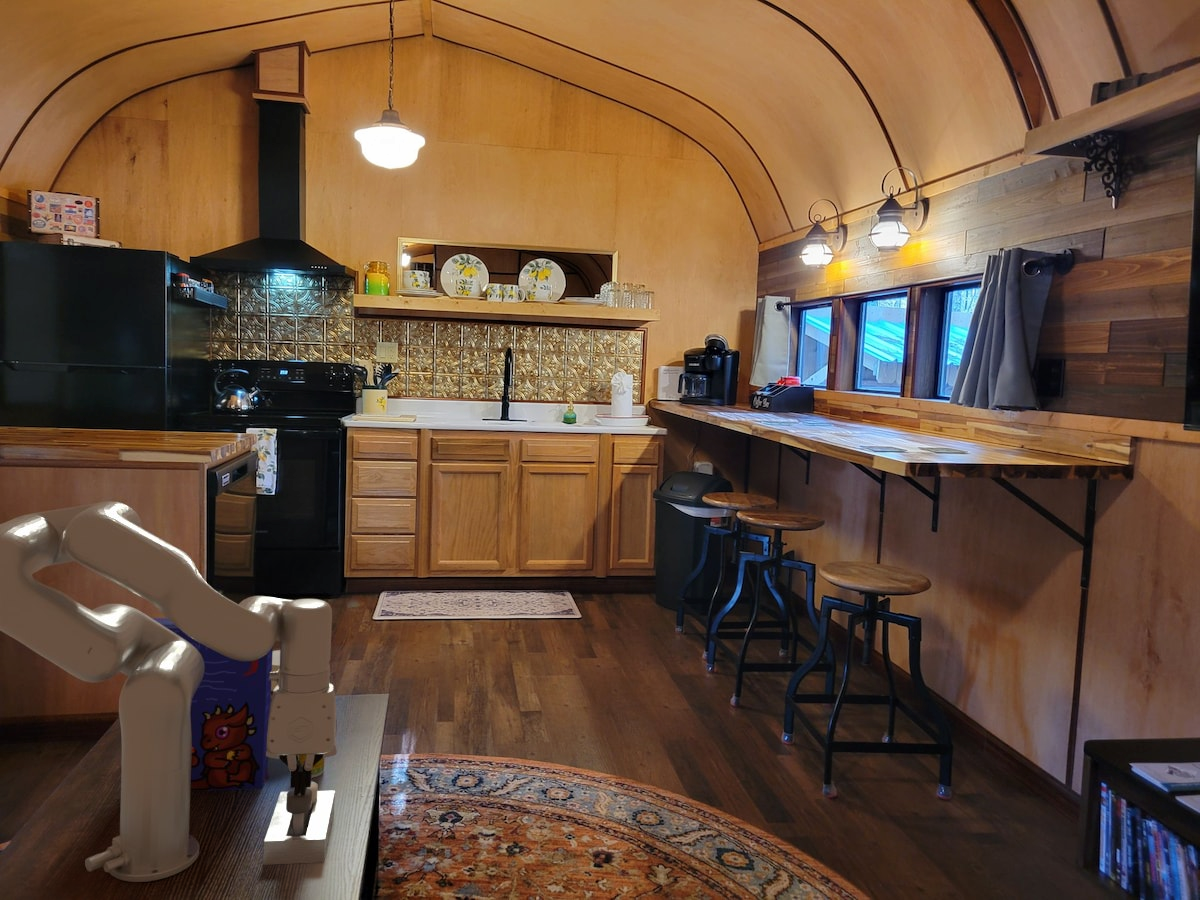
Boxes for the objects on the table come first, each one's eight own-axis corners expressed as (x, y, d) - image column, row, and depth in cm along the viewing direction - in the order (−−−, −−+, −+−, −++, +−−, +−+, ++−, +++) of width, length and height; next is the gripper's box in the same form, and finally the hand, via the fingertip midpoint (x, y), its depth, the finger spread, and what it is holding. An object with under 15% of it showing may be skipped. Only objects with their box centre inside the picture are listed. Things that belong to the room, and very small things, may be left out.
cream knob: (314, 828, 146) (316, 790, 146) (290, 828, 146) (292, 791, 145) (317, 816, 150) (318, 780, 150) (294, 817, 149) (295, 780, 149)
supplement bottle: (314, 780, 163) (316, 730, 162) (288, 776, 164) (290, 726, 163) (329, 768, 168) (331, 719, 167) (303, 764, 169) (305, 715, 168)
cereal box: (267, 773, 164) (273, 618, 162) (261, 788, 158) (268, 627, 156) (142, 776, 160) (146, 616, 157) (131, 792, 154) (136, 626, 152)
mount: (323, 862, 137) (324, 839, 136) (263, 864, 135) (264, 841, 134) (334, 811, 152) (334, 790, 152) (279, 813, 150) (280, 791, 150)
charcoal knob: (308, 837, 137) (310, 797, 137) (283, 838, 137) (285, 798, 136) (311, 825, 141) (313, 786, 141) (287, 826, 140) (288, 787, 140)
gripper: (249, 688, 132) (245, 804, 133) (352, 687, 135) (347, 801, 136) (258, 671, 139) (255, 781, 140) (355, 670, 142) (351, 779, 144)
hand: (300, 791), depth 138 cm, fingers closed
